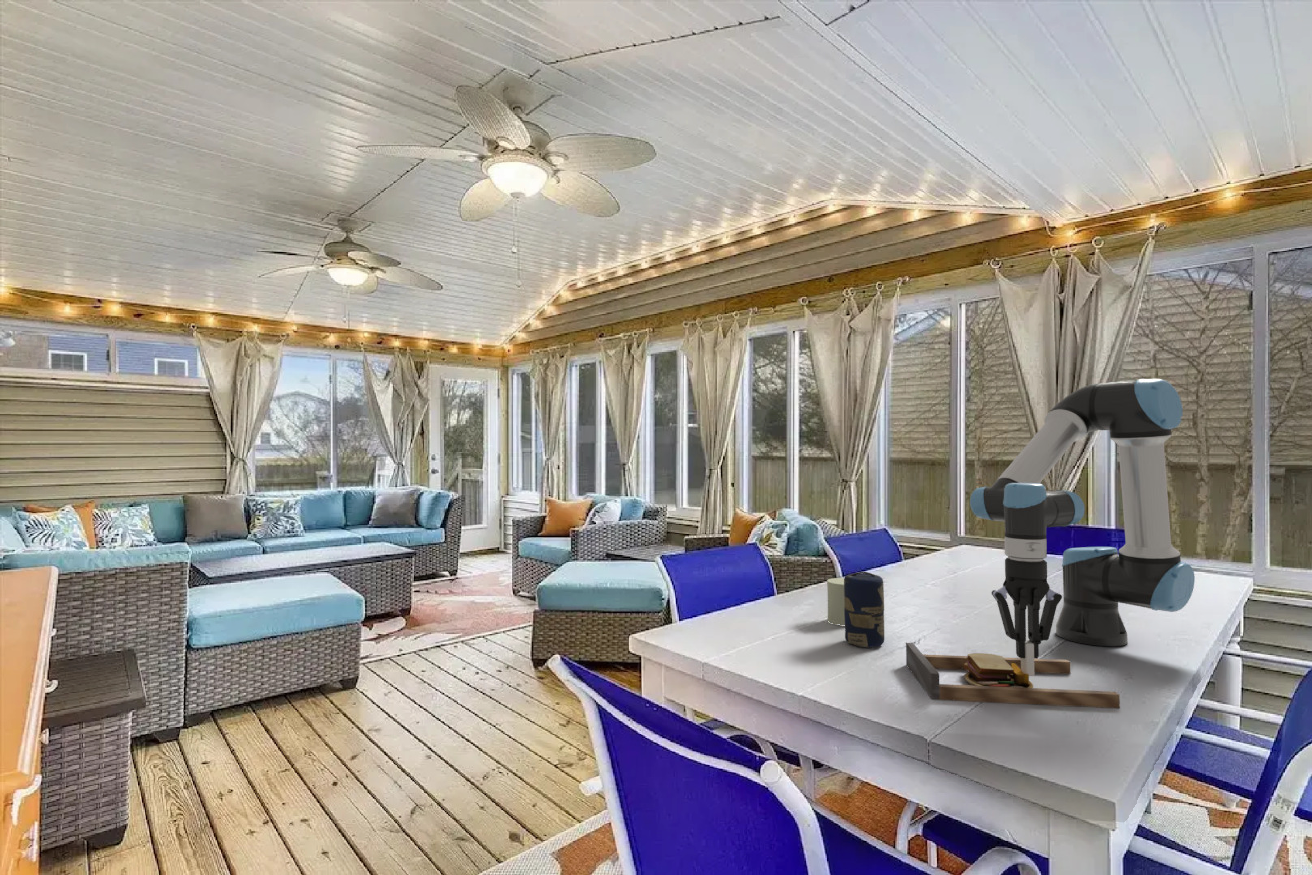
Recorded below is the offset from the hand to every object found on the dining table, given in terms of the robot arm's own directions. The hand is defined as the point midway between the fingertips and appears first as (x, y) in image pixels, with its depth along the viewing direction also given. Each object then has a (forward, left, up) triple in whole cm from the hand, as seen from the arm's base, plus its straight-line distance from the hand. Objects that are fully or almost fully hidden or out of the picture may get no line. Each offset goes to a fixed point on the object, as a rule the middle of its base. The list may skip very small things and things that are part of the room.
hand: (1027, 673), depth 131 cm
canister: (+28, -25, -3) cm, 38 cm away
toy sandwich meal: (+6, 0, -3) cm, 7 cm away
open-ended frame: (+4, 0, -3) cm, 5 cm away
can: (+30, -45, -3) cm, 54 cm away
